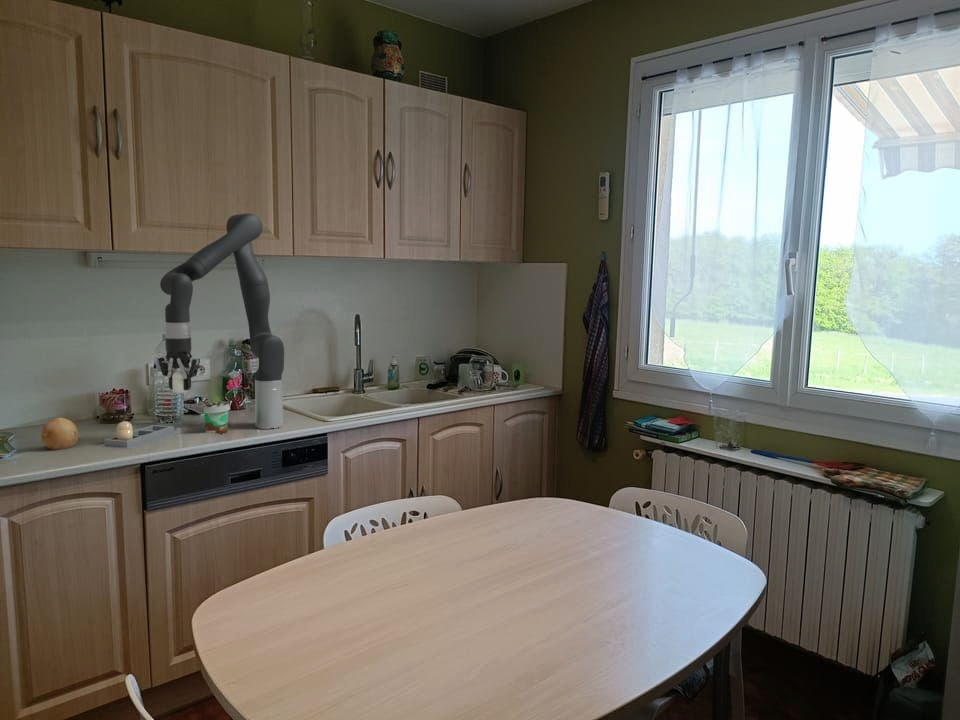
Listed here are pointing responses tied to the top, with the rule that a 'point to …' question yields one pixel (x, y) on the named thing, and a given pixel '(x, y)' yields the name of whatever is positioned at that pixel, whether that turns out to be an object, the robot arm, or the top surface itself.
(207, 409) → the food container
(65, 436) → the onion
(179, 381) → the white domed cylinder
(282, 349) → the robot arm
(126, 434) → the brown egg
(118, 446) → the carton
